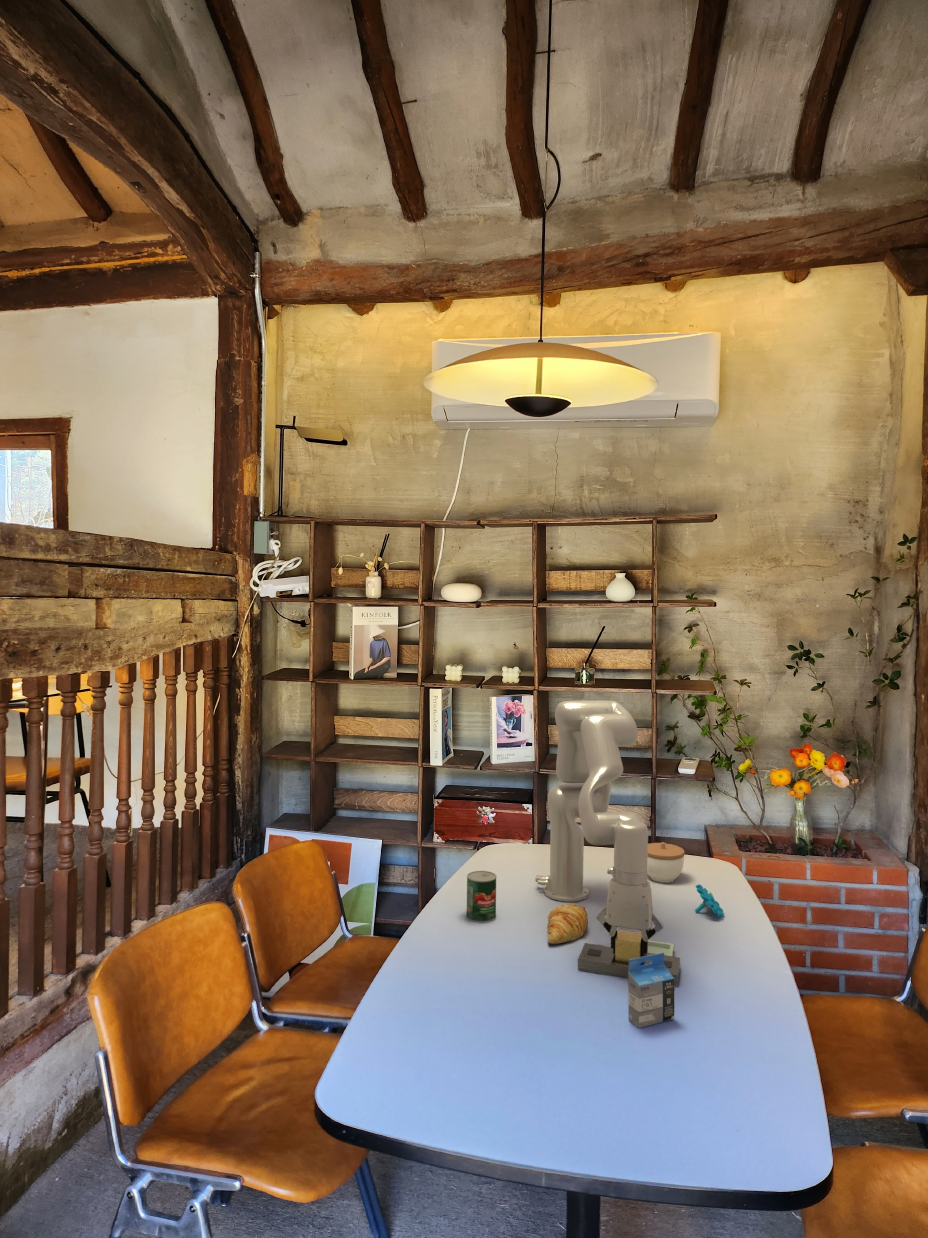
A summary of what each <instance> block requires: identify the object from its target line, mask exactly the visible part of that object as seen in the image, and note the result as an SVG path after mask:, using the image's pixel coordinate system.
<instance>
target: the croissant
mask: <svg viewBox="0 0 928 1238" xmlns="http://www.w3.org/2000/svg"><path fill="white" fill-rule="evenodd" d="M547 915H548V916H547V926H546V927H547V941H548V942H549V944H553V945H555V944H564V943H567V942H572V941H574V940H577V939H581V938H582V937H583V935H584V934H585V932H586V929H587V925H588V912H587V909H586V907H585V906H579V905H577V904H572V903H571V904H570V903H569V904H562V905H558V906H556V907H554V908H553V909H552V910H551V911H550V912H549V913H548V914H547Z"/></svg>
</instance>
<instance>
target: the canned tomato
mask: <svg viewBox="0 0 928 1238" xmlns="http://www.w3.org/2000/svg"><path fill="white" fill-rule="evenodd" d="M466 880H467V881H466V919H467V920H468V921H471V922H473V923H478V924H479V923H480V924H481V923H482V924H483V923H489V922H493V921H494V920H496V919H497V915H496V914H497V875H496V873H494V872H493V871H487V870H476V871H475V870H474V871H471V872H469V873H468V874H467V875H466Z"/></svg>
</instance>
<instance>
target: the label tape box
mask: <svg viewBox="0 0 928 1238" xmlns="http://www.w3.org/2000/svg"><path fill="white" fill-rule="evenodd" d="M646 960H648V961H652V963H650V964H645V965H644V964H642V965H640V964H641V963H642V962H645V961H646ZM663 961H664V953H659V954H654V955H649V956H644V957H640V958H635V959H630V960H629V971H628V978H627V982H628V984H627V987H628V992H627V996H628V1000H627V1002H628V1003H627V1004H628V1021H630V1022H631V1023H632V1024H633V1025H635V1026H636V1027H637V1028H639V1029H640V1028H644V1027H648V1026H652V1025H656V1024H659V1023H664V1022H668V1021H672V1020H675V987H676V986H675V984H674V983H675V982H674V978H673V976H672V975H671V973H670V972H669V971H668V969H667V968H666V967H665V965H664V964H663Z"/></svg>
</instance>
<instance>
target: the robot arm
mask: <svg viewBox="0 0 928 1238" xmlns="http://www.w3.org/2000/svg"><path fill="white" fill-rule="evenodd" d="M554 712H555V713H554V718H555V719H554V720H555V725H556V728H557V732H558V742H557V752H556V762H555V763H556V766H555V773H556V777H557V779H558V780H559V781H560V782H562V783H564V784H558V785H555V786H553V787H551V788H550V789H549V790H548V793H547V806H548V812H549V823H550V829H549V830H550V837H549V839H550V840H549V841H550V843H549V846H550V847H549V849H550V851H549V852H550V853H549V854H550V855H549V875H546V876H545V875H544V876H543V875H539V874H536V876H535V882H536V883H537V885H538V886H539V885H540V886H544V888H543V890H544V895H546V896H547V897H548V898H549V899H553V900H555V901H559V902H568V903H569V902H570V903H572V902H573V903H574V902H579V901H583V900H585V899H587V898H588V897H589V889H588V888H587V887H585V886H584V855H585V854H584V849H585V847H584V843H585V841H586V842H587V843H589V844H591V845H593V846H607V845H608V846H610V845H613V848H614V849H613V867H607V874H608V875H611V876H612V878H611V879H610V880H609V883H608V884H609V885H608V888H607V889H608V890H607V898H606V906H605V907H604V908H603V909H602V910H601V911H600V912H599V913H598V914H597V916H596V920H597V921H598V922H599V923H600V924H601V925H602V926H603V927H604V929H605V930H606V931H607V932H608V934H609V936H610V947H611V948H613V954H615V940H616V937H617V934H618V930H617V929H618V928H622V929H624V928H625V929H630V930H636V931H637V930H638V931H640V932H639V933H641V935H642V939H641V956H640V957H644V954H647V952H648V940H650V939H651V938H652V937H654V936H655V935H656V934H657V933H659V932H661V931H662V930H663V928H664V924H663V922H662V921H661V920H660V918H659V917H658V916H657V915H656V914H655V912H654V909H653V908H654V907H653V896H652V894H653V893H652V887H651V883H650V881H648V874H647V861H648V844H649V829H648V826H647V825H646V824H645V823H644V822H642V819H641V818H640V816H639V815H638V814H637V813H636V812H633V811H608V810H609V805H610V798H611V797H610V796H611V788H612V782H613V781H616V780H617V779H619V778H620V777H621V776H622V775H623V773H624V765H623V761H622V757H621V754H620V750H619V749H620V748H619V747H631V746H633V745H635V744H636V742H637V740H638V734H639V733H638V726H637V723H636V721H635V719H634V717H633V716H632V715H631V714H630V712H629V711H628V710H627V709H625V708H624V707H623V705H621V703H619V702H617V701H614V700H601V699H600V700H599V699H598V700H589V699H588V700H585V699H584V700H566V701H565V700H564V701H561V702H559V703H558V704H557V706H556V707H555V711H554ZM576 819H580V825H581V826H580V825H579V824H578V823H577V822H576ZM584 839H585V840H584ZM652 924H654V926H652Z"/></svg>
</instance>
